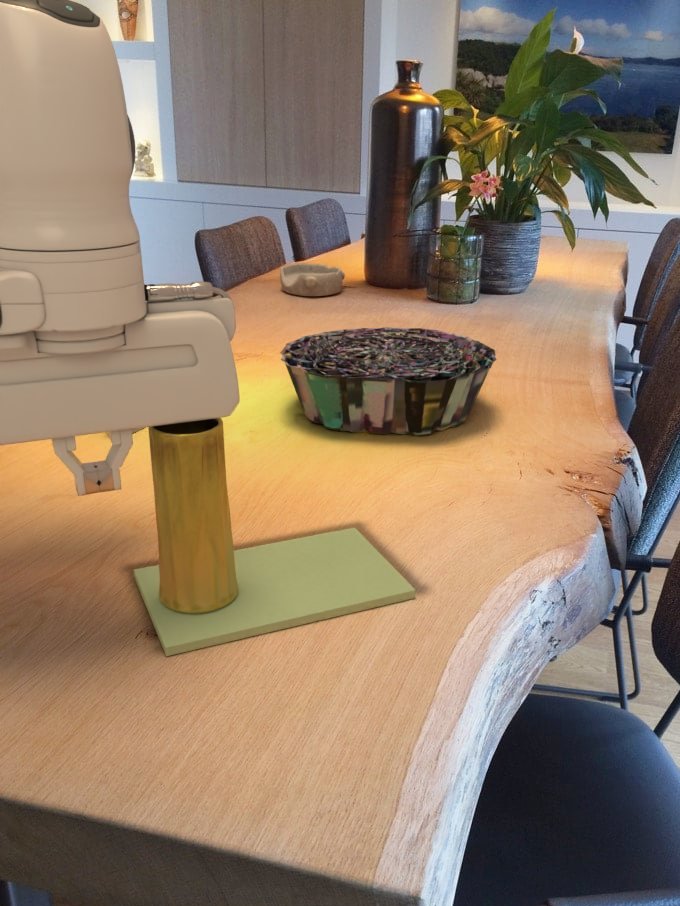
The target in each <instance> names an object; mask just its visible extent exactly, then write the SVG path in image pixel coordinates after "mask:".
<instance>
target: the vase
mask: <svg viewBox="0 0 680 906" xmlns="http://www.w3.org/2000/svg"><path fill="white" fill-rule="evenodd" d="M147 428H148V440H149V450H150V451H149V452H150V463H151V471H152V472H151V473H152V484H153V494H154V495H153V496H154V510H155V521H156V531H157V532H156V533H157V542H158V545H157V547H158V565H159V574H160V583H159V599H160V601H161V602H162V604H163V605H164V606H166V607H167V608H169V609H171V610H174V611H176V612H180V613H187V614H200V613H207V612H212V611H215V610H218V609H220V608H222V607H224V606H226V605H228V604H229V603H231V602H232V601H233V600H234V599H235V598H236V596H237V594H238V583H237V579H236V572H235V562H234V549H235V547H234V538H233V530H232V529H233V528H232V519H231V518H232V517H231V508H230V501H229V491H228V484H227V482H228V481H227V468H226V454H225V433H224V421H223V419H222V418H215V419H207V420H199V421H191V422H183V423H175V424H167V425H159V426H152V427H147Z"/></svg>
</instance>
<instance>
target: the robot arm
mask: <svg viewBox="0 0 680 906" xmlns="http://www.w3.org/2000/svg"><path fill="white" fill-rule="evenodd" d="M124 89H125V88H124V84H123V79H122V75H121V70H120V66H119V61H118V57H117V53H116V50H115V48H114V45H113V42H112V39H111V36H110V34H109V32H108V29H107V26H106V24H105V22H104V21H103V19H102V18H101V17H99V16H98V15H97V14H96V13H94V12H93V11H92V10H91V9H90V8H89V7H87V6H86V5H83V4H81V3H79V2H76V1H73V0H0V447H1V446H7V445H16V444H23V443H31V442H40V441H47V440H48V441H49V440H50V441H51V446H52V449H53V453H54V454H55V456H56V457H57V458H58V459H59V460H60V461H61V462H62V463H63V464H64V466H65V467H66V468H67V469H68V471H70V472H71V473H72V474H73V480H74V486H75V491H76V494H77V496H78V497H80V496H87V495H93V494H99V493H107V492H113V491H120V490H121V491H122V480H121V478H122V477H121V473H120V472H121V471H120V468H122V466H123V465H124V463H125V460H126V459H127V457H128V455H129V452H130V451H131V448H132V447H133V444H134V439H133V434H132V429H136V428H143V429H145V428H148V427H152V426H159V425H167V424H175V423H183V422H191V421H199V420H207V419H215V418H221V419H222V418H228V417H230V416H231V415H233V413H234V412H235V410H236V408H237V407H238V405H239V404H240V400H241V399H240V386H239V379H238V372H237V367H236V362H235V358H234V353H233V348H232V344H231V341H232V340H233V339H234V337H235V333H236V328H237V325H236V308H235V303H234V301H233V299H232V298H231V296H230V295H229V294H228V293H227V291H225V290H224V289H221V288H220V287H215V286H213V284H212V282H210V281H194V282H193V281H192V282H190V283H157V284H156V283H150V284H149V283H148V284H145V279H144V269H143V268H144V267H143V257H142V247H141V240H140V239H141V238H140V233H139V228H138V225H137V223H136V220H135V217H134V215H133V212H132V207H131V201H130V184H131V179H132V176H133V174H134V173H133V172H134V168H135V163H136V140H135V133H134V129H133V126H132V122H131V120H130V117H129V114H128V110H127V109H128V108H127V103H126V97H125V91H124ZM214 294H215V295H218V296H214ZM144 427H145V428H144ZM103 433H106V434H107V436H108V439H109V440H110V443H111V446H110V449H109V451H108V453H107V455H106V458H105V459H104V460H99V461H91V462H82V461H81V460H80V459H79V458H78V457H77V455H76V454H75V453H74V452H75V451H76V450H77V444H76V443H77V442H76V437H81V436H87V435H96V434H103Z"/></svg>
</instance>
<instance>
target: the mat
mask: <svg viewBox="0 0 680 906" xmlns="http://www.w3.org/2000/svg"><path fill="white" fill-rule="evenodd" d="M234 562H235V572H236V579H237V583H238V594H237V596H236V598H235V599H234V600H233V601H232V602H231V603H229V604H228V605H226V606H224V607H222V608H220V609H218V610H215V611H212V612H207V613H200V614H187V613H180V612H176V611H174V610H171V609H169V608H167V607H166V606H164V605H163V604H162V602H161V601H160V599H159V583H160V574H159V564H156V565H151V566H145V567H140V568H135V569H133V578H134V580H135V583H136V585H137V588H138V590H139V593H140V595H141V597H142V600H143V603H144V606H145V607H146V610H147V612H148V614H149V618H150V619H151V623H152V625H153V627H154V629H155V632H156V635H157V637H158V640H159V642H160V645H161V647H162V650H163V652H164V654H165V656H166V657H170V656H175V655H178V654H182V653H188V652H193V651H197V650H200V649H204V648H209V647H213V646H216V645H221V644H225V643H230V642H235V641H238V640H243V639H247V638H251V637H255V636H260V635H264V634H268V633H272V632H276V631H281V630H284V629H290V628H293V627H298V626H302V625H307V624H310V623H314V622H319V621H323V620H327V619H333V618H335V617H340V616H344V615H350V614H352V613H353V614H354V613H358V612H362V611H367V610H370V609H376V608H379V607H383V606H388V605H391V604H396V603H400V602H404V601H409V600H413V599H416V593H417V591H416V590H417V589H416V588H415V587H414V586H413V585H411V584H410V582H409V581H408V580H407V579H406V578H405V577H404V576H403V575H402V574H401V573H400V572H399V571H398V570H397V569H396V567H394V566H393V565H392V564H391V563H390V561H388V559H386V558H385V556H383V554H381V552H380V551H379V550H378V549H377V548H376V547H375V546H374V545H373V544H372V543H371V542H370V541H369V540H368V539H367V538H366V536H364V535H363V534H362V533H361V531H359V529H357V528H356V527H350V528H345V529H344V528H343V529H339V530H334V531H329V532H324V533H323V532H322V533H319V534H313V535H309V536H302V537H297V538H292V539H287V540H282V541H277V542H271V543H266V544H260V545H255V546H250V547H244V548H240V549H235V550H234Z"/></svg>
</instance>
